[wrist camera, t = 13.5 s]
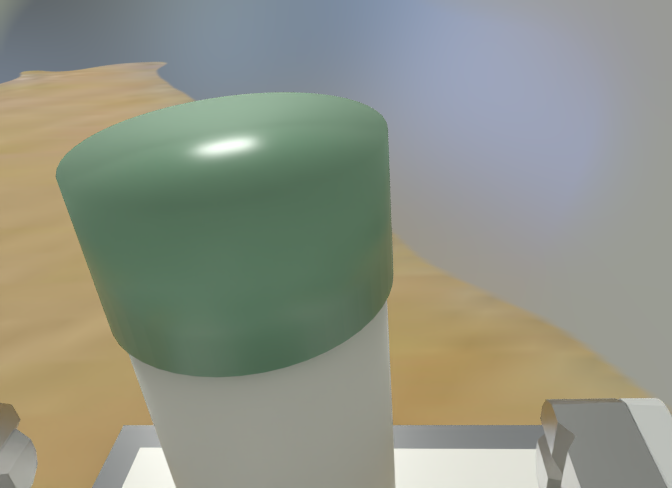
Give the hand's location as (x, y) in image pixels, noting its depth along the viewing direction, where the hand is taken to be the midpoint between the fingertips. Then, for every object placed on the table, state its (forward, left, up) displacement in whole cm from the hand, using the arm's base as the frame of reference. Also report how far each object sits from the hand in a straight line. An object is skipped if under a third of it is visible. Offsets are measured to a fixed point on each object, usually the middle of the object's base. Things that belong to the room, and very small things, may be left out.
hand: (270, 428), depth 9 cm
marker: (0, 0, -7) cm, 8 cm away
